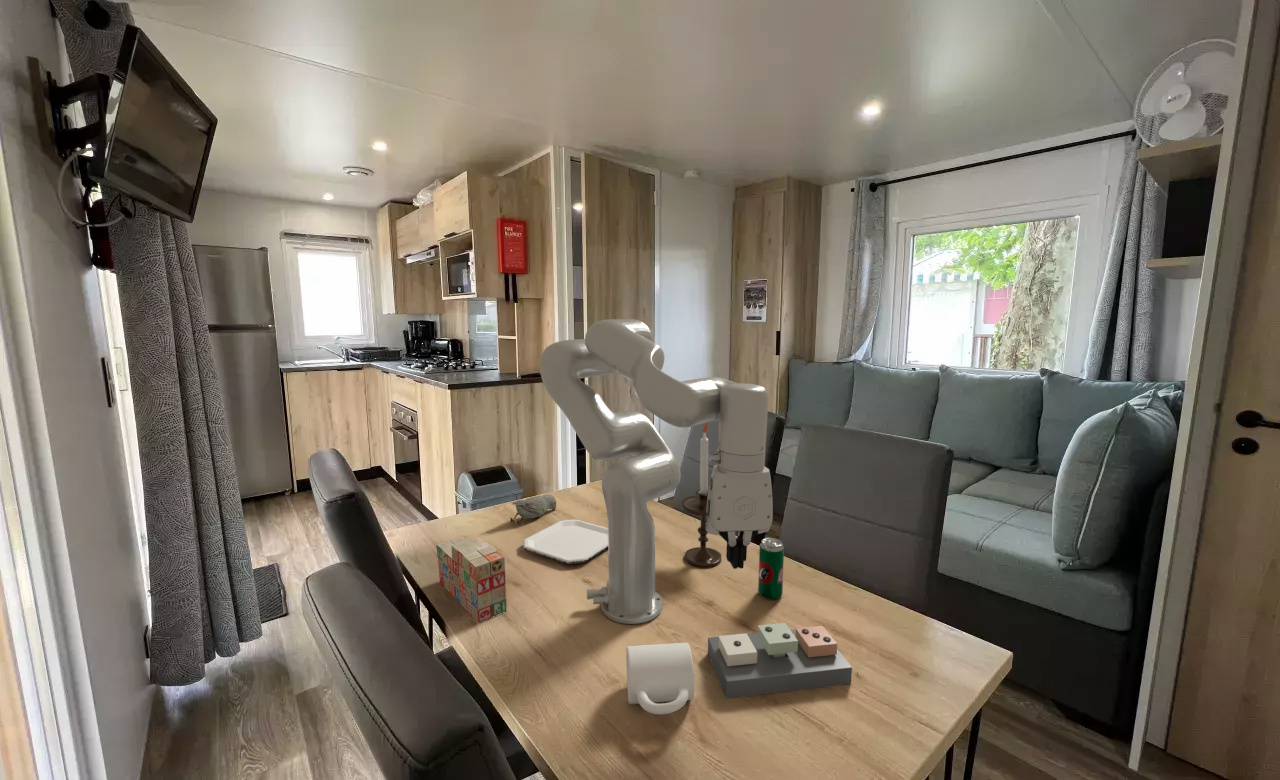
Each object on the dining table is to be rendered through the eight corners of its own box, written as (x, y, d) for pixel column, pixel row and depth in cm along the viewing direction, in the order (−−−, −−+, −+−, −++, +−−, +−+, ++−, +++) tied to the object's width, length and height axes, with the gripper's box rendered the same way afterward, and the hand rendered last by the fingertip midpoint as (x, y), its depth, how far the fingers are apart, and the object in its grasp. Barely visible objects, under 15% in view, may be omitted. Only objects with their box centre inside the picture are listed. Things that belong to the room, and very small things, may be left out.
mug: (626, 679, 85) (625, 635, 84) (685, 675, 86) (686, 631, 84) (631, 738, 73) (630, 688, 72) (700, 733, 74) (700, 683, 73)
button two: (768, 671, 84) (769, 643, 83) (757, 651, 89) (757, 624, 88) (796, 668, 85) (798, 640, 84) (784, 648, 90) (785, 622, 89)
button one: (727, 683, 83) (727, 654, 82) (718, 662, 88) (718, 635, 87) (756, 679, 84) (757, 651, 83) (745, 659, 89) (746, 632, 88)
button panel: (727, 698, 80) (727, 681, 80) (707, 653, 91) (708, 637, 91) (851, 684, 83) (852, 667, 83) (818, 641, 94) (819, 626, 93)
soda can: (783, 602, 107) (785, 548, 105) (758, 599, 108) (759, 546, 106) (781, 589, 112) (783, 537, 110) (757, 587, 113) (759, 536, 111)
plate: (626, 540, 137) (626, 532, 137) (577, 573, 120) (577, 564, 120) (567, 523, 148) (567, 516, 148) (515, 551, 131) (514, 543, 131)
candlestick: (712, 546, 133) (714, 414, 128) (733, 565, 123) (736, 423, 117) (674, 552, 129) (674, 417, 124) (691, 572, 119) (693, 426, 114)
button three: (807, 673, 85) (809, 645, 84) (794, 654, 90) (795, 627, 89) (835, 670, 86) (837, 642, 85) (821, 651, 91) (822, 624, 90)
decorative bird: (561, 512, 157) (560, 489, 156) (519, 529, 144) (517, 504, 143) (549, 508, 160) (548, 485, 159) (507, 525, 148) (505, 500, 146)
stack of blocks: (438, 582, 116) (435, 531, 114) (465, 573, 120) (462, 523, 118) (478, 624, 100) (475, 566, 98) (507, 612, 104) (505, 555, 102)
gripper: (701, 468, 78) (697, 578, 81) (794, 466, 80) (787, 574, 83) (690, 454, 86) (687, 555, 89) (776, 452, 87) (770, 552, 90)
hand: (735, 564), depth 86 cm, fingers closed
